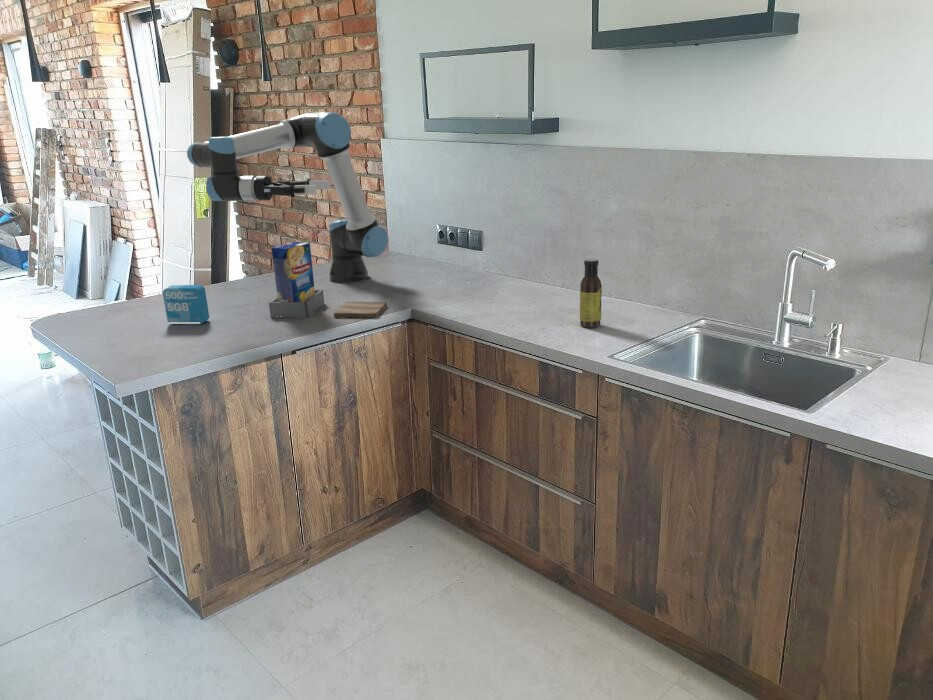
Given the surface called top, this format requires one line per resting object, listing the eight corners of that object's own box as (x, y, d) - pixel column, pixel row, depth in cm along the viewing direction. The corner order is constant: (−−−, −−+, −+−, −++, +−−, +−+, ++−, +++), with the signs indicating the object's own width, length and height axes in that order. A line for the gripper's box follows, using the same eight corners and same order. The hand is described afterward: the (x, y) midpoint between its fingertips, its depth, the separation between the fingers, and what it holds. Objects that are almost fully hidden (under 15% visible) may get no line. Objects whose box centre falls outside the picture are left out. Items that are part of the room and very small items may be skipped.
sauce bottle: (604, 327, 210) (606, 261, 203) (584, 329, 208) (585, 262, 202) (595, 321, 215) (597, 256, 209) (576, 323, 214) (577, 258, 208)
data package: (167, 325, 226) (161, 288, 222) (174, 321, 231) (167, 285, 227) (204, 324, 226) (198, 288, 222) (210, 320, 230) (204, 284, 226)
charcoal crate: (289, 303, 247) (287, 289, 245) (324, 303, 245) (322, 289, 243) (270, 317, 231) (268, 302, 229) (307, 317, 229) (306, 302, 228)
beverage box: (316, 307, 241) (309, 242, 234) (295, 315, 232) (288, 249, 225) (300, 305, 244) (293, 241, 237) (279, 313, 235) (271, 247, 228)
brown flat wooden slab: (346, 305, 241) (346, 301, 241) (386, 306, 240) (386, 301, 239) (334, 317, 228) (333, 313, 228) (376, 317, 227) (376, 313, 226)
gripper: (273, 195, 235) (335, 194, 232) (242, 205, 211) (311, 204, 209) (270, 172, 232) (333, 171, 230) (238, 180, 209) (308, 178, 207)
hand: (323, 187), depth 219 cm, fingers open, 13 cm apart
